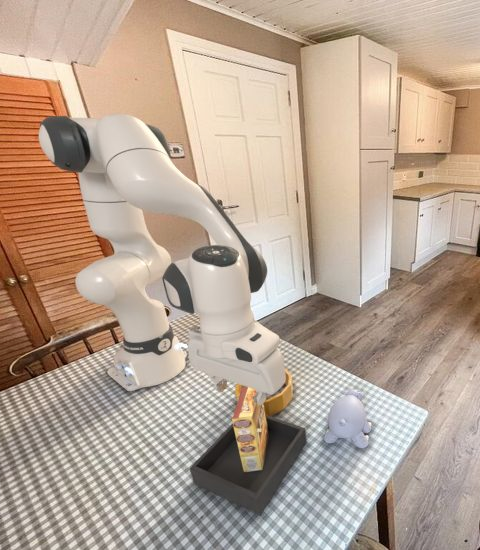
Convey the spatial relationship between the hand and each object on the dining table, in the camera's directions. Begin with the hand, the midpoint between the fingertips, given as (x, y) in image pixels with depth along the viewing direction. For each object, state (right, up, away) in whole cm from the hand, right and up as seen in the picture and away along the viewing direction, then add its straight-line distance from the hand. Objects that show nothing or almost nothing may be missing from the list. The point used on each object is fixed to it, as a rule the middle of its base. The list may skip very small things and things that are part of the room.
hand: (240, 395), depth 60 cm
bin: (0, -18, +7) cm, 19 cm away
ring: (-3, -10, +25) cm, 27 cm away
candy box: (0, -16, +8) cm, 18 cm away
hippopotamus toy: (+21, -14, +16) cm, 30 cm away
